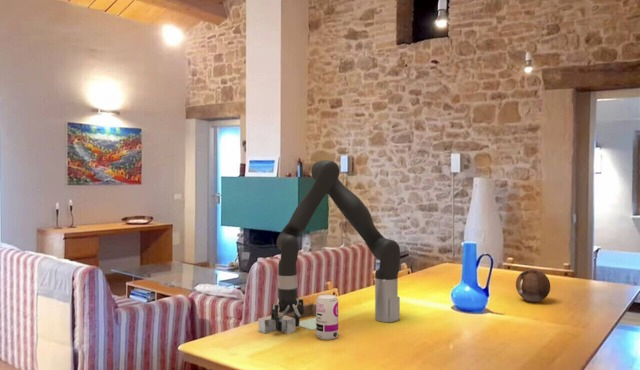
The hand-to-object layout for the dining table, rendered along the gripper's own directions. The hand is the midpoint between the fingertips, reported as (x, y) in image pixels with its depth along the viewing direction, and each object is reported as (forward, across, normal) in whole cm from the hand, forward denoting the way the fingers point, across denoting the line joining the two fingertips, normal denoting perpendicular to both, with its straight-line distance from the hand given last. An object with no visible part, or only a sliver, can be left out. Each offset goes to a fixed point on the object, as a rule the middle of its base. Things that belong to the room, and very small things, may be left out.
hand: (287, 328), depth 204 cm
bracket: (+1, -3, +3) cm, 4 cm away
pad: (+1, +14, 0) cm, 14 cm away
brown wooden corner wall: (+1, +14, +5) cm, 15 cm away
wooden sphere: (+1, +113, -44) cm, 121 cm away
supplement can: (+1, +6, -16) cm, 17 cm away
